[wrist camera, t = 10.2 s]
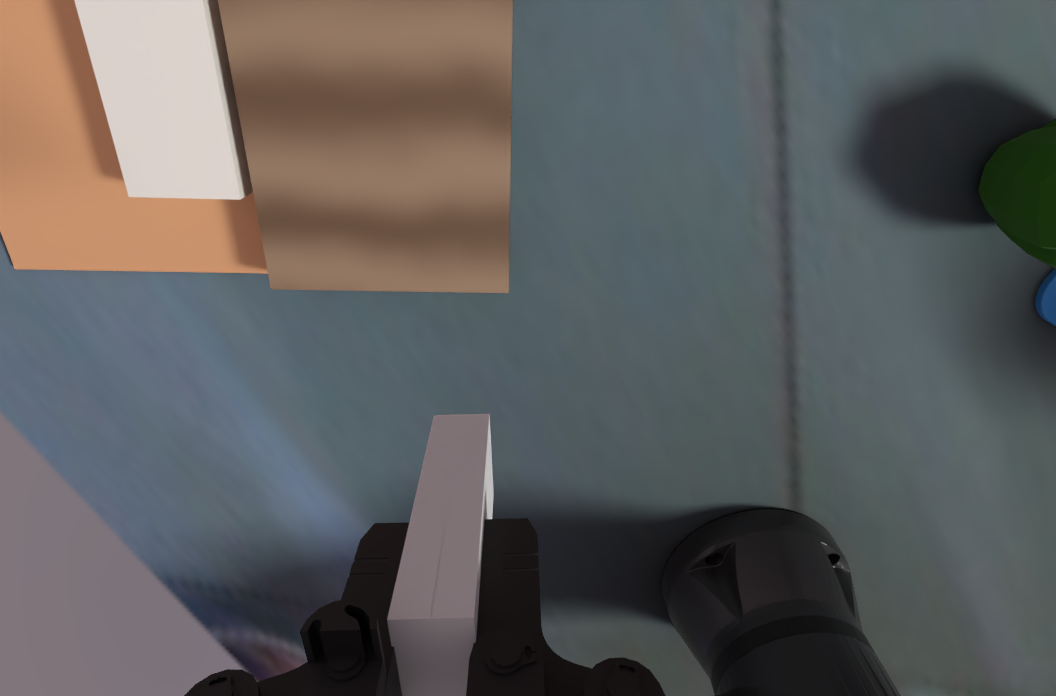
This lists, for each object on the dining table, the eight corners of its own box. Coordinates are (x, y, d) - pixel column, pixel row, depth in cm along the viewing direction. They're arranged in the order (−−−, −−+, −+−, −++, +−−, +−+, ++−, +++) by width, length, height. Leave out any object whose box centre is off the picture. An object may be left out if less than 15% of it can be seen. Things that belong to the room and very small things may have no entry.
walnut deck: (508, 275, 39) (508, 293, 36) (287, 271, 38) (270, 289, 35) (514, -112, 29) (514, -126, 27) (221, -124, 29) (192, -140, 26)
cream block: (257, 189, 35) (240, 199, 33) (152, 186, 35) (128, 197, 33) (222, -9, 31) (199, -12, 28) (101, -14, 30) (69, -17, 28)
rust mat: (279, 271, 38) (277, 273, 38) (19, 266, 38) (15, 269, 37) (210, -124, 29) (207, -126, 28) (-136, -138, 28) (-145, -140, 28)
